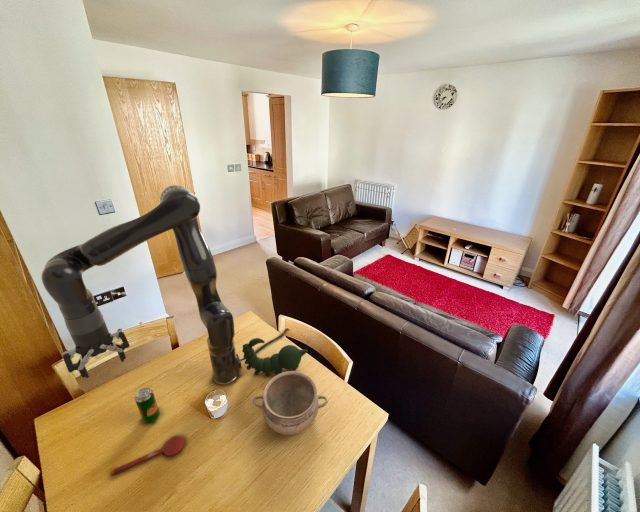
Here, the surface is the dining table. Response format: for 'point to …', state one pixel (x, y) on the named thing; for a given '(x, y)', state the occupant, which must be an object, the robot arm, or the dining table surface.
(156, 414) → the soda can
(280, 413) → the cooking pot
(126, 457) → the dining table surface
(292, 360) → the toy figurine
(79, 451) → the dining table surface
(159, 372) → the dining table surface
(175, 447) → the spoon
